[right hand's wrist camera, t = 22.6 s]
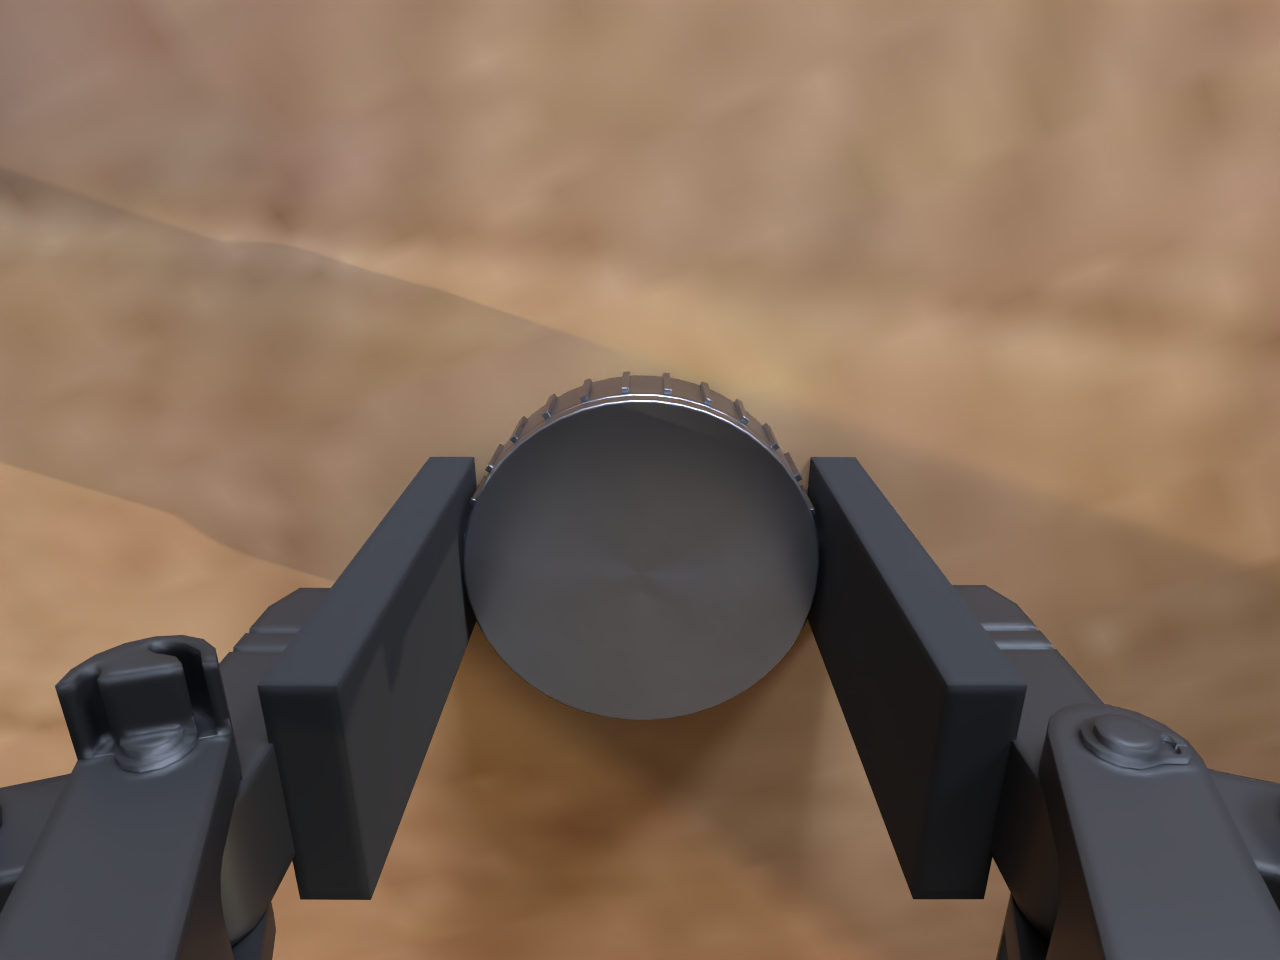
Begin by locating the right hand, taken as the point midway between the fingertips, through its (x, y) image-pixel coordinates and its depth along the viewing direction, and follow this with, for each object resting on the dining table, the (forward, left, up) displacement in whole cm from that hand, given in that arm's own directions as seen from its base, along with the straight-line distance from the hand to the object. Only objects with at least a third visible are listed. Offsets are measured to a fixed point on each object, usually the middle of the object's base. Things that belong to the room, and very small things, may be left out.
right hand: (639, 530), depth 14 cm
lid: (0, 0, +1) cm, 1 cm away
